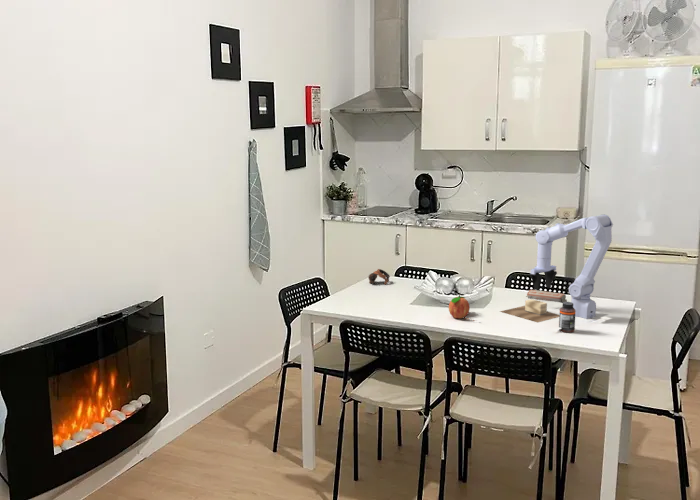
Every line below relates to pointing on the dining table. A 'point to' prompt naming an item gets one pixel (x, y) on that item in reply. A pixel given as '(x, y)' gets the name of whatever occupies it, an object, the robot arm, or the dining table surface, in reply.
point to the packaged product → (546, 296)
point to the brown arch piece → (380, 273)
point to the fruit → (459, 307)
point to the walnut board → (530, 314)
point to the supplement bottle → (567, 318)
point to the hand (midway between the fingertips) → (542, 288)
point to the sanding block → (535, 307)
